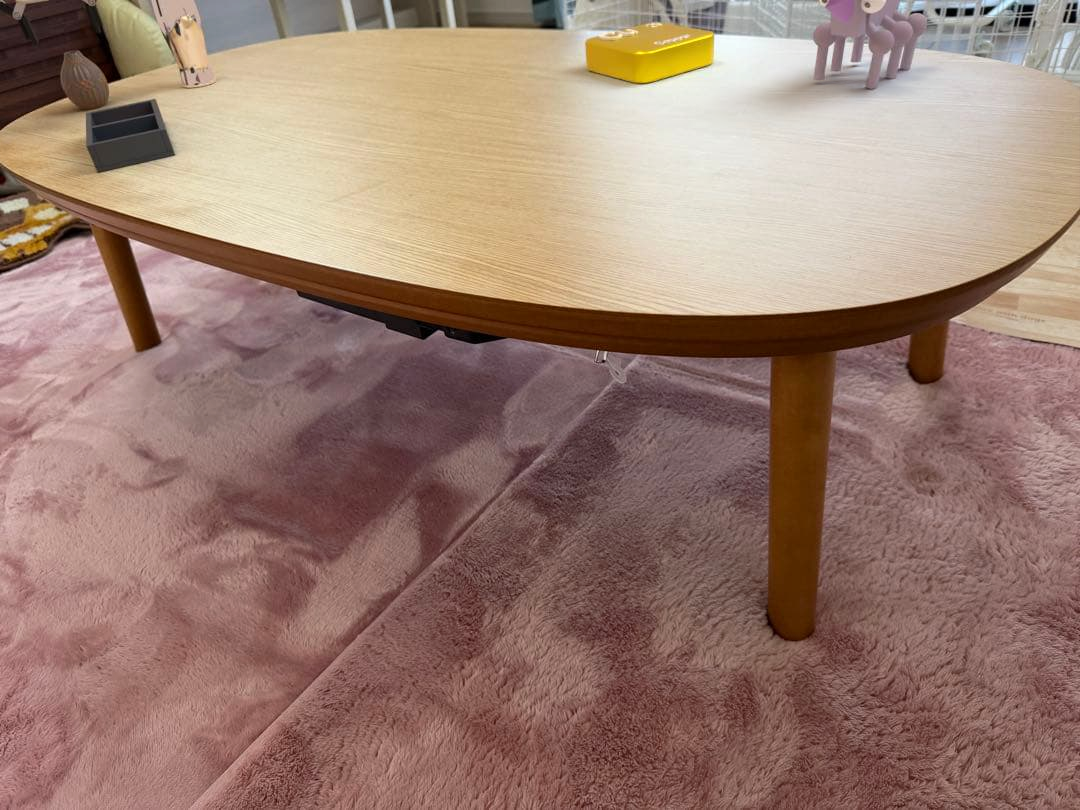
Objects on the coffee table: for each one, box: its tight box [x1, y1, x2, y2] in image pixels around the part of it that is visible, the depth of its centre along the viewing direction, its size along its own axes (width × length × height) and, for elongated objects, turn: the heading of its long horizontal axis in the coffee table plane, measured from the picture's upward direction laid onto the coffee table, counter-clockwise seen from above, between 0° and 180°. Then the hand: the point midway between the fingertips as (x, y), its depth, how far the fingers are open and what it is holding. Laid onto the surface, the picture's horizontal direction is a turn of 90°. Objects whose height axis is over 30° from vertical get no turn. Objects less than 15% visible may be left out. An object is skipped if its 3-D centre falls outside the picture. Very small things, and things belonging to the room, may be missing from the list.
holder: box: [85, 98, 176, 173], centre depth 116 cm, size 10×19×4 cm, turn 26°
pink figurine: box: [812, 0, 928, 90], centre depth 103 cm, size 20×11×14 cm, turn 135°
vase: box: [59, 50, 110, 110], centre depth 136 cm, size 7×7×9 cm
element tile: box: [584, 21, 715, 84], centre depth 123 cm, size 15×15×5 cm
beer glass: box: [150, 0, 218, 89], centre depth 140 cm, size 7×7×15 cm
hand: (67, 37), depth 132 cm, fingers open, 9 cm apart
